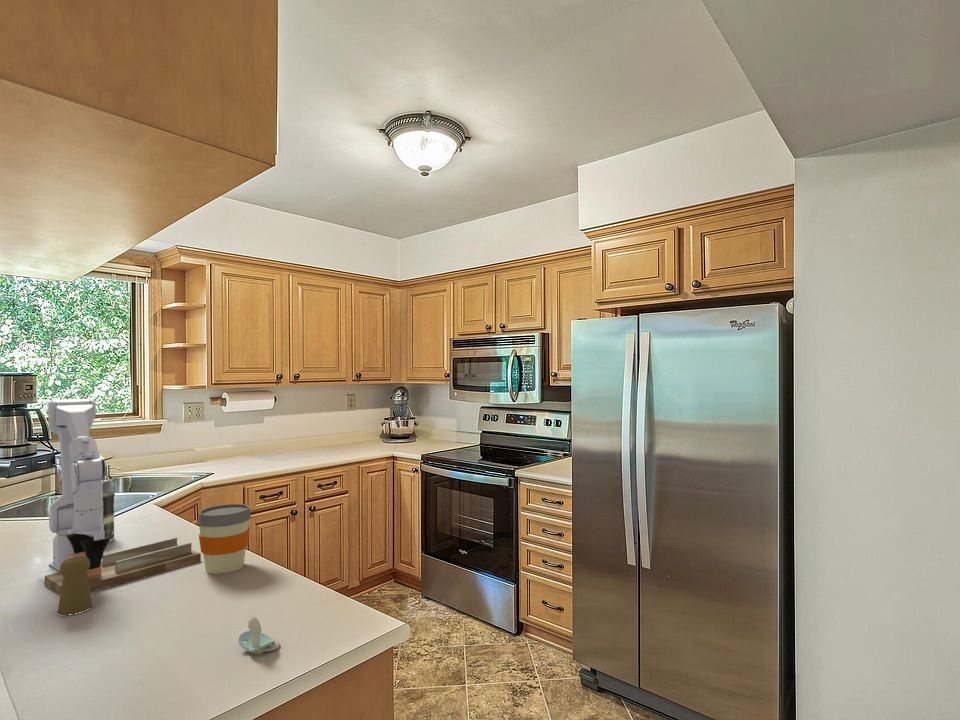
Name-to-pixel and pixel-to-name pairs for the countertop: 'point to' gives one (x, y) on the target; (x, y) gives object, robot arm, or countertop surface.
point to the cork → (74, 586)
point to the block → (90, 572)
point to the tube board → (135, 564)
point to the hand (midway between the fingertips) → (88, 565)
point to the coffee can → (108, 514)
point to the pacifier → (257, 638)
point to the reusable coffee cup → (224, 536)
